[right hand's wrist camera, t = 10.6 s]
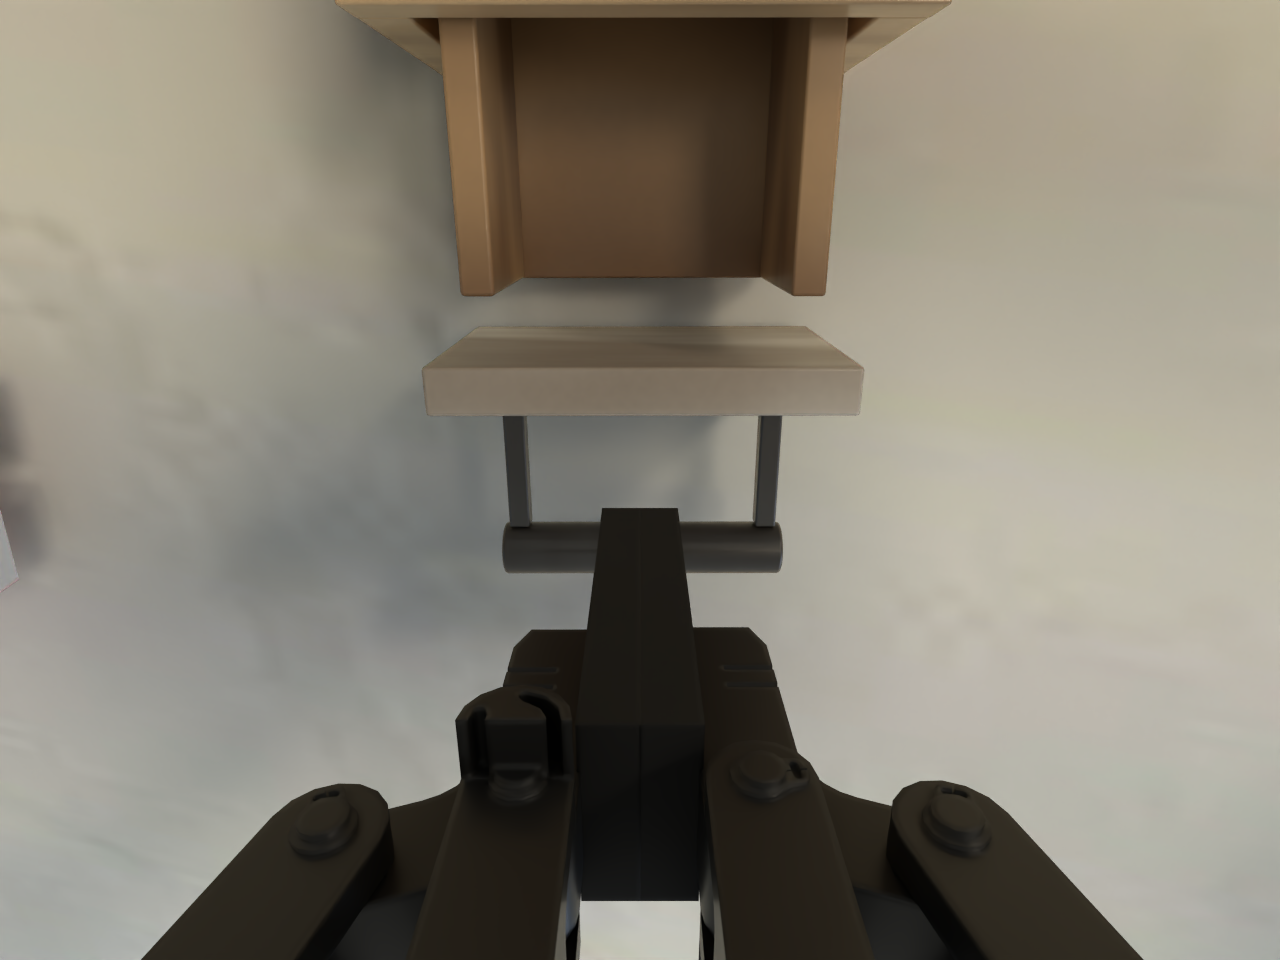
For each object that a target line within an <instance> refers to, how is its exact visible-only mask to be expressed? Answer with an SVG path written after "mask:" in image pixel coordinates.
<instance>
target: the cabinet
mask: <svg viewBox="0 0 1280 960" xmlns="http://www.w3.org/2000/svg"><path fill="white" fill-rule="evenodd" d="M951 2H952V0H335V3H336V5H338V6H339V7H341V8H342V9H344V10H345V11H347V12H348V13H350V14H351V15H353V16H354V17H356V18H358V19H360V20H361V21H363V22H364V23H365V24H367V25H368V26H370V27H371V28H373V29H374V30H376V31H377V32H379V33H380V34H382V35H383V36H385V37H386V38H388V39H389V40H391V41H392V42H394V43H395V44H397V45H398V46H400V47H401V48H403V49H404V50H406V51H407V52H409V53H410V54H412V55H413V56H415V57H416V58H418V59H419V60H421V61H422V62H424V63H425V64H427V65H428V66H430V67H431V68H432V69H434V70H435V71H437V72H438V73H439V74H441V75H442V76H443V71H442V59H441V47H440V34H439V22H438V18H635V17H848V28H847V40H846V52H845V64H844V73H846V72H847V70H849V69H851V68H852V67H854V66H855V65H857V64H858V63H860V62H861V61H863V60H864V59H866V58H867V57H869V56H870V55H872V54H873V53H875V52H876V51H878V50H880V49H881V48H883V47H884V46H886V45H887V44H889V43H890V42H892V41H893V40H895V39H896V38H898V37H899V36H901V35H902V34H904V33H905V32H907V31H908V30H910V29H911V28H913V27H914V26H916V25H917V24H919V23H921V22H922V21H924V20H925V19H927V18H928V17H931V16H933V15H934V14H936V13H937V12H939V11H940V10H942V9H943V8H945V7H946V6H948V5H949V4H951Z"/></svg>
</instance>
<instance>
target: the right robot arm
mask: <svg viewBox="0 0 1280 960" xmlns="http://www.w3.org/2000/svg"><path fill="white" fill-rule="evenodd" d="M455 722H456V732H457V742H458V751H459V761H460V771H461V781H460V784H458V785H457V786H456V787H454V788H452V789H450V790H448V791H446V792H444V793H442V794H441V795H438V796H435V797H432V798H429V799H426V800H423V801H419V802H415V803H411V804H407V805H403V806H399V807H395V808H391V809H388V804H387V802H386V801H385V800H384V799H383V797H382V796H381V795H380V794H379V792H378V791H376V790H373V789H371V788H369V787H366V786H364V785H361V784H335V785H331V786H326V787H322V788H318V789H314V790H312V791H310V792H308V793H306V794H304V795H302V796H300V797H298V798H296V799H294V800H292V801H291V802H289V803H288V804H287V805H286V806H284V807H283V808H282V809H281V810H280V811H278V812H277V813H276V814H275V815H274V816H272V818H271V819H270V820H269V821H268V822H267V823H266V824H265V825H264V826H263V827H262V828H261V829H260V831H259V832H258V833H257V834H256V835H255V836H254V837H253V838H252V839H251V840H250V841H249V843H248V844H247V845H246V846H245V847H244V848H243V849H242V850H241V851H240V852H239V853H238V855H237V856H236V857H235V858H234V859H233V860H232V861H231V862H230V863H229V864H228V865H227V867H226V868H225V869H224V870H223V871H222V872H221V873H220V874H219V875H218V876H217V877H216V879H215V880H214V881H213V882H212V883H211V884H210V885H209V886H208V887H207V888H206V889H205V891H204V892H203V893H202V894H201V895H200V896H199V897H198V898H197V899H196V900H195V901H194V903H193V904H192V905H191V906H190V907H189V908H188V909H187V910H186V911H185V912H184V913H183V915H182V916H181V917H180V918H179V919H178V920H177V921H176V922H175V923H174V924H173V925H172V927H171V928H170V929H169V930H168V931H167V932H166V933H165V934H164V935H163V936H162V937H161V938H160V940H159V941H158V942H157V943H156V944H155V945H154V946H153V947H152V948H151V949H150V950H149V952H148V953H147V954H146V955H145V956H144V957H143V958H142V959H141V960H579V955H580V942H581V941H580V915H579V910H580V898H581V901H699V895H700V906H701V915H700V941H699V960H1143V959H1142V958H1141V957H1140V956H1139V954H1138V953H1137V952H1136V951H1135V950H1134V949H1133V948H1132V947H1131V946H1130V945H1129V944H1128V943H1127V941H1126V940H1125V939H1124V938H1123V937H1122V936H1121V935H1120V934H1119V933H1118V932H1117V931H1116V930H1115V928H1114V927H1113V926H1112V925H1111V924H1110V923H1109V922H1108V921H1107V920H1106V919H1105V918H1104V917H1103V915H1102V914H1101V913H1100V912H1099V911H1098V910H1097V909H1096V908H1095V907H1094V906H1093V905H1092V904H1091V902H1090V901H1089V900H1088V899H1087V898H1086V897H1085V896H1084V895H1083V894H1082V893H1081V892H1080V891H1079V889H1078V888H1077V887H1076V886H1075V885H1074V884H1073V883H1072V882H1071V881H1070V880H1069V879H1068V878H1067V876H1066V875H1065V874H1064V873H1063V872H1062V871H1061V870H1060V869H1059V868H1058V867H1057V866H1056V865H1055V863H1054V862H1053V861H1052V860H1051V859H1050V858H1049V857H1048V856H1047V855H1046V854H1045V853H1044V852H1043V850H1042V849H1041V848H1040V847H1039V846H1038V845H1037V844H1036V843H1035V842H1034V841H1033V840H1032V839H1031V837H1030V836H1029V835H1028V834H1027V833H1026V832H1025V831H1024V830H1023V829H1022V828H1021V827H1020V826H1019V824H1018V823H1017V822H1016V821H1015V820H1014V819H1013V818H1012V817H1011V816H1010V815H1009V814H1008V813H1007V812H1006V811H1005V810H1004V809H1002V808H1001V807H1000V806H999V805H998V804H996V803H995V802H994V801H993V800H991V799H990V798H989V797H987V796H985V795H983V794H981V793H979V792H977V791H975V790H973V789H971V788H969V787H966V786H963V785H959V784H954V783H950V782H946V781H919V782H917V783H914V784H912V785H909V786H907V787H904V788H903V789H902V790H901V791H900V792H899V794H898V795H897V796H896V797H895V799H894V800H893V803H892V806H889V805H885V804H881V803H877V802H873V801H869V800H865V799H861V798H857V797H854V796H851V795H848V794H845V793H842V792H839V791H837V790H836V789H834V788H832V787H830V786H828V785H826V784H824V783H823V782H822V781H820V780H819V777H818V776H817V774H816V772H815V771H814V769H813V767H812V765H811V764H810V762H808V761H807V760H806V759H805V758H803V757H802V756H801V755H800V754H798V752H797V749H796V746H795V742H794V739H793V736H792V732H791V729H790V725H789V722H788V718H787V715H786V711H785V708H784V704H783V701H782V697H781V694H780V691H779V687H777V680H776V677H775V673H774V670H772V663H771V659H770V656H769V652H768V649H767V646H766V644H765V643H764V642H763V641H762V640H761V639H760V638H759V637H758V636H757V635H756V634H755V633H754V632H753V631H752V630H751V629H750V628H749V627H693V626H692V618H691V610H690V602H689V594H688V586H687V578H686V570H685V562H684V554H683V546H682V538H681V530H680V522H679V514H678V508H602V514H601V522H600V530H599V538H598V546H597V554H596V562H595V570H594V578H593V586H592V594H591V602H590V610H589V618H588V625H587V630H531V631H530V632H529V633H528V634H527V635H526V636H525V637H524V638H523V639H522V640H521V641H520V642H519V643H518V644H517V645H516V646H515V647H514V648H513V652H512V655H511V659H510V662H509V666H508V672H507V673H506V676H505V680H504V683H503V687H500V688H498V689H495V690H492V691H489V692H487V693H484V694H481V695H479V696H478V697H477V698H475V699H474V700H472V701H471V702H470V703H468V704H467V705H465V706H464V708H463V709H462V711H461V712H460V714H459V715H458V717H457V718H456V720H455Z"/></svg>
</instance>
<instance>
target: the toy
mask: <svg viewBox="0 0 1280 960" xmlns="http://www.w3.org/2000/svg"><path fill="white" fill-rule="evenodd" d="M17 580H19V577H18V574H17V570H16V566H15V562H14V559H13V555H12V551H11V548H10V544H9V540H8V536H7V533H6V529H5V525H4V522H3V518H2V514H1V510H0V593H1V592H2V591H4V590H5V589H6V588H8V587H9V586H10V585H12V584H13V583H14V582H16V581H17Z"/></svg>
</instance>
